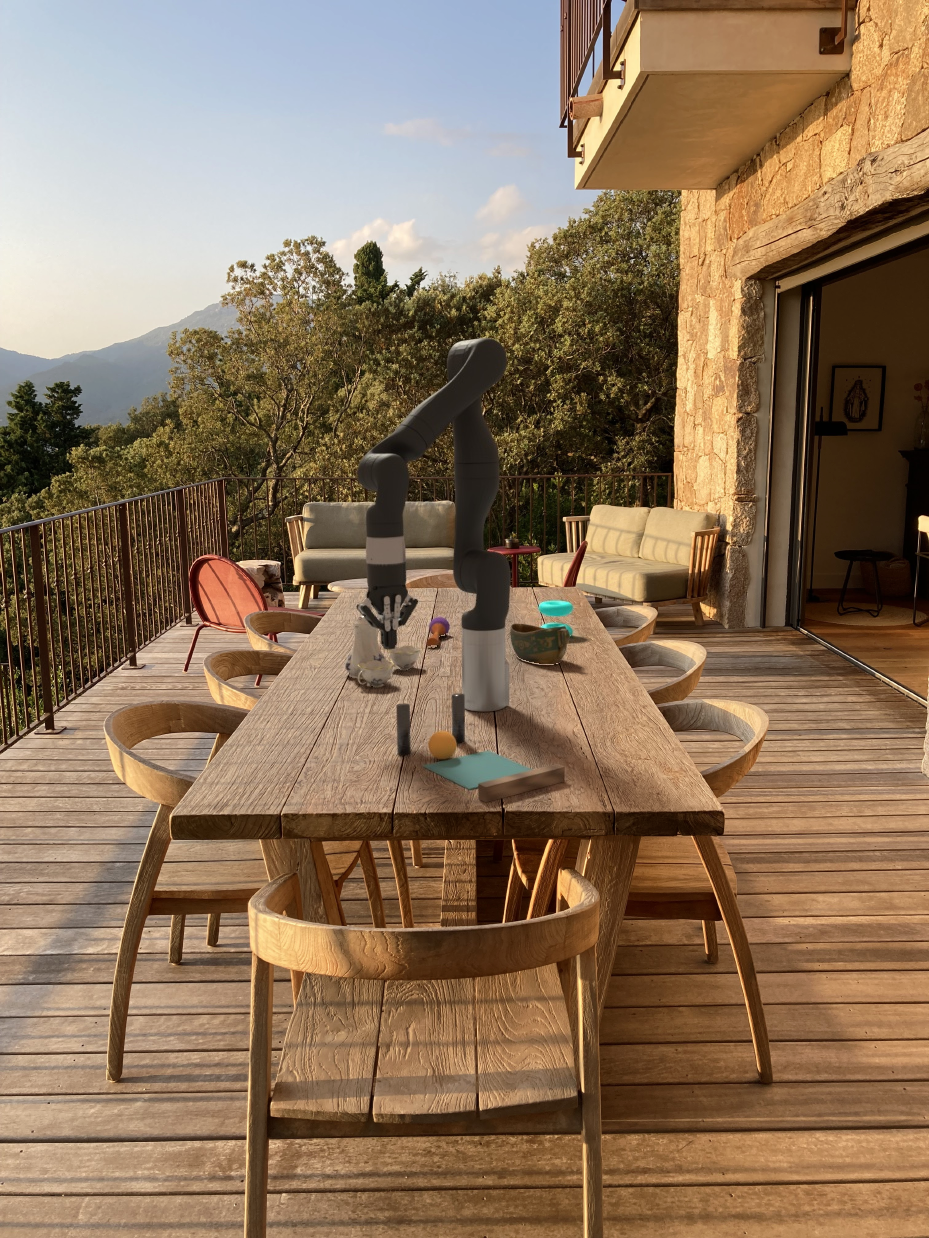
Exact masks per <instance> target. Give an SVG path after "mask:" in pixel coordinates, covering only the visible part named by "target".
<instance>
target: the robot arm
mask: <svg viewBox="0 0 929 1238" xmlns="http://www.w3.org/2000/svg"><path fill="white" fill-rule="evenodd" d="M507 357H508V355H507V353H506V350H505V348H504V346H503V345H502V344H501V342H499V341H498V340H497V339H494V338H490V337H480V338H474V339H466V340H461V341H460V340H459V341H458V342H456V343H454V345H452V347H451V348H450V349H449V351H448V355H447V360H446V372H447V380H448V381H447V383H446V384H445V385H444V386H443V387H441V388H440V389H438V391H436V392H435V393H433V394H432V395H431V396H429V397H427V398H426V399H425V400H423V401H422V402H421V403H420V404H418V405H417V406H416V407H415V408H414V409H413V410H411V411H410V412H409V413H408V415H407V416H406V417H405V418H404V419H403V420H402V422H400V424H399V425H398V426H397V427H396V428H395V429H394V431H393V432H392V433H391V434H389V435H388V436H386V437H385V438H384V439H382V440H381V441H380V442H378V444H376V445H375V446H374V447H372V448H371V449H370V450H369V451H368V452H367V453H366V454H365V455H364V456H363V457H362V459H361V460H360V462H359V464H358V467H357V470H356V471H357V472H356V474H357V475H356V476H357V480H358V482H359V484H360V485H361V487H363V488H364V489H366V490H368V491H372V492H376V497H375V503H374V505H370V506H369V507H368V508H367V509H366V513H365V526H366V528H365V529H366V543H365V563H366V582H367V591H366V595H365V597H366V599H364V601H363V602H361V603H358V604H356V606H355V607H356V609H357V611H358V612H359V613H360V614H361V615H362V616H363V617H364V618H365V619H366V620H367V622H368V623H369V624H370V625H371V626H372V627H374V628H377V629H378V630H379V631H380V644H381V646H382V648H383V649H384V650H386V651H387V650H390V649H395V647H397V644H398V629H399V628H400V627H402V626H405V625H406V624H407V622H408V620H409V619H410V617H411V615H412V614H413V612H414V611H415V608H416V607H417V605H418V603H419V600H418V598H415V597H412V595H410V594H409V589H408V588H407V586H406V585H407V581H408V580H407V560H406V559H407V558H406V557H407V556H406V554H407V553H406V552H407V551H406V544H405V537H404V531H405V530H404V510H405V507H406V503H407V497H408V492H409V486H410V471H409V467H408V463H410V462H414V461H417V460H418V459H420V458H421V457H422V456H423V455H424V454H425V453H426V452H427V450H429V448H430V447H431V446H432V445H433V444H434V442H435V441H436V440H437V439H438V438H439V437H440V436H441V434H442V433H444V431H445V430H446V428H448V426H450V424H452V433H453V437H452V438H453V472H454V473H453V475H454V476H453V477H454V491H455V496H454V497H455V499H454V500H455V501H454V502H455V513H454V515H455V527H454V545H453V555H452V556H453V557H452V573H453V575H452V576H453V579H454V583H455V585H456V586H457V588H458V589H459V590H460V591H461V592H464V593H468V594H473V595H475V605H474V607H473V608H472V609H470V610H466V611H465V612H463V613H462V614H461V624H460V625H461V694H464V695H465V710H468V711H472V712H493V711H495V712H496V711H499V710H502V709H504V708H505V707H509V706H510V662H509V661H508V660H506V620H507V617H508V615H509V614H508V613H509V610H510V599H511V598H510V597H511V596H510V594H511V568H510V567H511V566H510V564H509V561H508V558H507V557H506V556H505V555H504V554H503V553H501V552H499V551H493V550H485V548H484V529H485V528H484V527H485V522H486V519H487V516H488V514H489V512H490V511H491V508H492V505H493V504H494V502H495V500H496V496H497V494H498V491H499V487H500V457H499V456H500V455H499V451H498V450H499V449H498V447H497V445H496V442H495V439H494V436H493V435H492V433H491V431H490V429H489V426H488V424H487V422H486V420H485V416H484V414H483V413H484V412H483V408H482V395H483V394H484V393H485V392H487V391H488V390H490V389H491V388H492V387H493V386H495V385H496V384H497V383H498V382H499V381H500V380H501V379H502V378H503V376H504V375H505V373H506V371H507V370H506V369H507V366H508V358H507ZM373 609H374V610H375V613H376V614H375V613H373Z"/></svg>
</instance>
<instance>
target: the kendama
mask: <svg viewBox="0 0 929 1238" xmlns="http://www.w3.org/2000/svg"><path fill="white" fill-rule="evenodd" d="M450 627H451V626H450V623H449V620H447V619H446V618H445V617H442V616H437V617H434V618H433V619H432V620H431V621H430V623H429V632H430V633H432V634H433V635H432V634H431V636H430V637H429V638H428V639H427V640H426V646H427V647H428V646H431V645H438V646H439V642H440V641H439V638H440V637H439V636H441V635H444V634H446V633H448V634H449V631H450Z"/></svg>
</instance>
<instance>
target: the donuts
mask: <svg viewBox="0 0 929 1238" xmlns="http://www.w3.org/2000/svg"><path fill="white" fill-rule="evenodd" d="M573 610H574V605H573V604H572V603H571V602H569V601H564V600H547V601H546V600H545V601H543V602H540V603H539V605H538V611H539V612H540V613H541V614H542V615H544V616H547V617H565V616H568V615H570V614H571V613H572V612H573ZM561 626H566V629H567V630H568V631H569V634H570V635H572V636H573V634H574V630H573V628H572V627H571V626H570V625H569V624H565V623H561V622H550V623H548V622H547V623H544V624H543V625H541V626H540V627H542V628H553V627H561Z"/></svg>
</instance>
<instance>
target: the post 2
mask: <svg viewBox="0 0 929 1238" xmlns="http://www.w3.org/2000/svg"><path fill="white" fill-rule="evenodd" d="M465 710H466V709H465V695H464V694H462V692H460V693H459V692H458V693H452V694H451V734H452V735H453V736H454V738H455V740H456V744H464V743H465V742H466V718H465V717H466V715H465V714H466V711H465Z"/></svg>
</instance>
